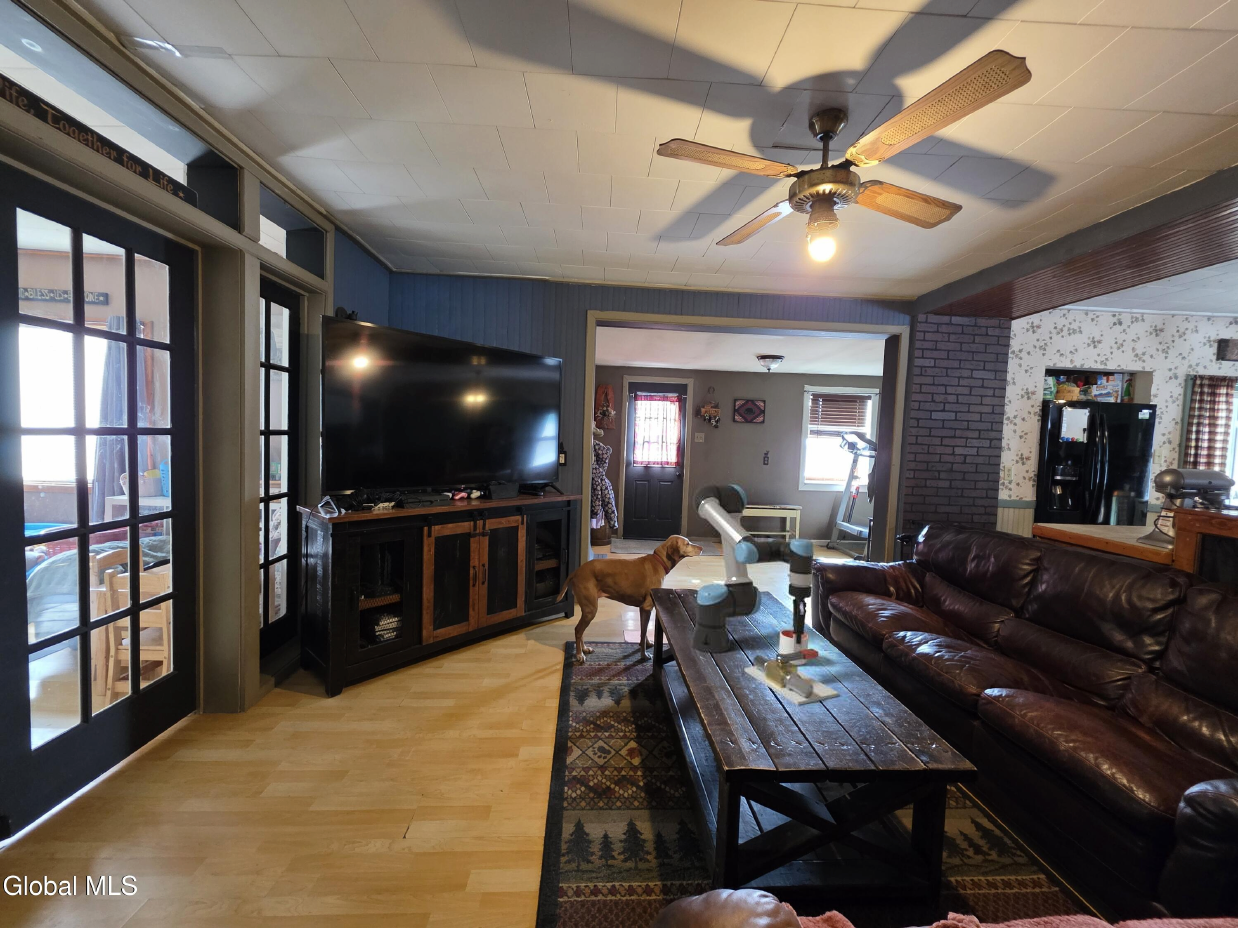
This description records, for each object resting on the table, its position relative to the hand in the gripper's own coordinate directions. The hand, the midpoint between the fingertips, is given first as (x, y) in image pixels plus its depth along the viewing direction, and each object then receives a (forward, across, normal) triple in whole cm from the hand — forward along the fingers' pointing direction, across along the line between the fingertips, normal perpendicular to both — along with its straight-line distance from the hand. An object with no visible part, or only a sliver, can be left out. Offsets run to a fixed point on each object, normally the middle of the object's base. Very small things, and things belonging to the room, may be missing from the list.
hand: (797, 651), depth 184 cm
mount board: (+9, +6, -3) cm, 11 cm away
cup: (+9, -14, +1) cm, 16 cm away
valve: (+9, +8, -6) cm, 13 cm away
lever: (+1, +5, -1) cm, 5 cm away
